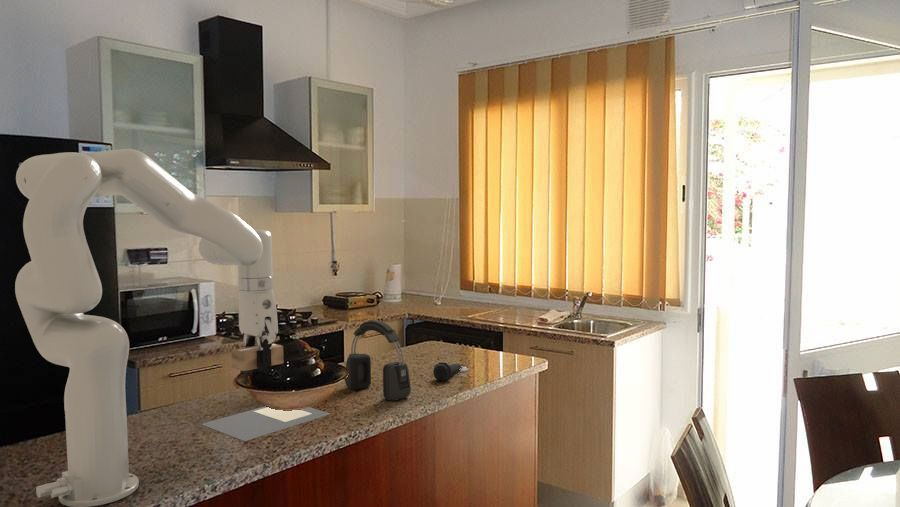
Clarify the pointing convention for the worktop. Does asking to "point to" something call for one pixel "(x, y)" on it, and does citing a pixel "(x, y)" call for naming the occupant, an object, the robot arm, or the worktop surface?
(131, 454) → the worktop surface
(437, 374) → the microphone
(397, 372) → the headphones
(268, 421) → the mat
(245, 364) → the block
